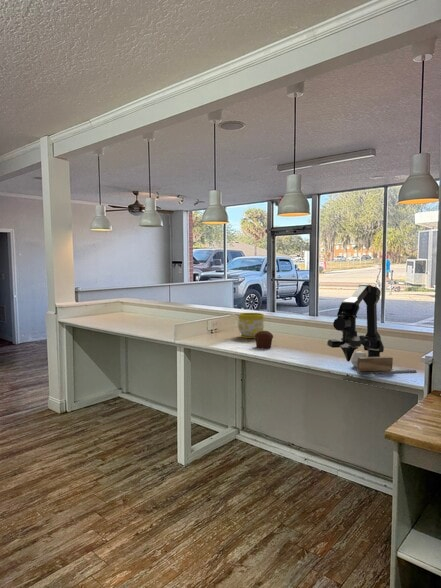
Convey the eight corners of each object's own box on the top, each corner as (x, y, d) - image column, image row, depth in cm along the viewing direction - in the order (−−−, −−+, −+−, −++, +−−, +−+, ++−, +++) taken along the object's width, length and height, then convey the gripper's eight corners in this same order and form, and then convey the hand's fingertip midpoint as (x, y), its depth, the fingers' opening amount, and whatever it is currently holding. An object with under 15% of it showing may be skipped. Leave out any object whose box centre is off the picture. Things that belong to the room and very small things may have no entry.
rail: (356, 372, 195) (356, 370, 195) (411, 370, 199) (411, 368, 199) (361, 374, 191) (361, 372, 191) (416, 372, 195) (416, 370, 195)
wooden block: (357, 369, 194) (357, 357, 194) (388, 368, 197) (389, 356, 196) (360, 371, 191) (360, 358, 191) (392, 370, 194) (392, 357, 193)
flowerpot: (232, 336, 290) (232, 313, 289) (251, 334, 302) (251, 312, 300) (250, 340, 276) (250, 316, 275) (269, 337, 288) (269, 314, 287)
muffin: (252, 348, 250) (253, 332, 250) (255, 344, 261) (255, 329, 261) (272, 349, 248) (272, 332, 247) (274, 345, 258) (274, 330, 258)
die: (350, 370, 202) (361, 356, 197) (344, 358, 209) (355, 344, 204) (363, 374, 204) (375, 361, 200) (357, 362, 211) (368, 349, 207)
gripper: (337, 331, 181) (336, 366, 182) (376, 330, 184) (376, 364, 185) (327, 327, 192) (326, 360, 193) (364, 326, 195) (363, 359, 196)
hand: (348, 361), depth 192 cm, fingers closed
